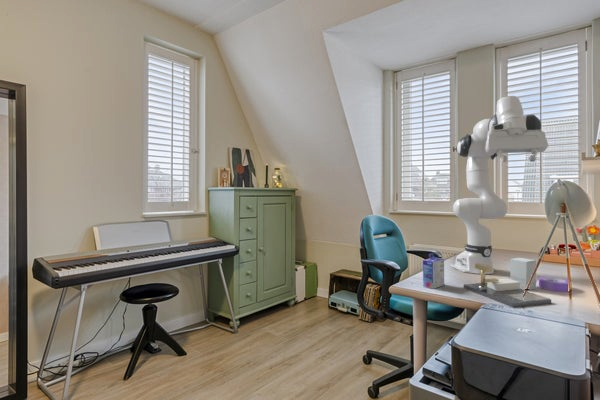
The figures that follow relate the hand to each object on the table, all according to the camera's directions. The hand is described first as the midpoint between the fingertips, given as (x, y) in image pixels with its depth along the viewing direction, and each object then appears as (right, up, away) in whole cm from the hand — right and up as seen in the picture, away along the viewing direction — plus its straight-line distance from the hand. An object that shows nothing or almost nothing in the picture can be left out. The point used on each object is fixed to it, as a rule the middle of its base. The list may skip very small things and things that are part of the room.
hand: (518, 161), depth 127 cm
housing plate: (+4, -54, +15) cm, 56 cm away
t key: (-1, -50, +18) cm, 54 cm away
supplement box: (+19, -54, +26) cm, 63 cm away
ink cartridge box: (-20, -54, +29) cm, 64 cm away
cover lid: (+6, -52, +20) cm, 56 cm away
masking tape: (+32, -54, +25) cm, 68 cm away
